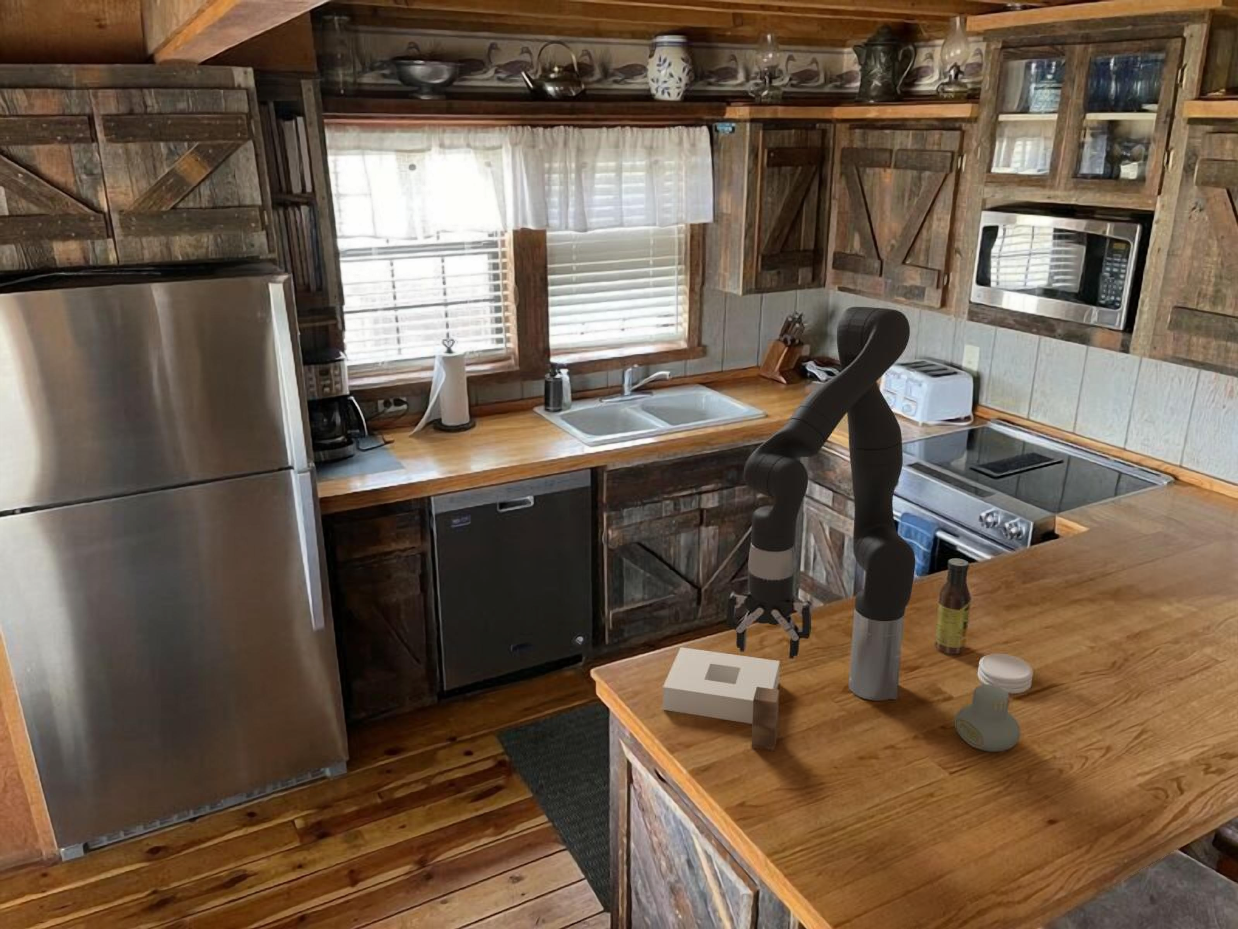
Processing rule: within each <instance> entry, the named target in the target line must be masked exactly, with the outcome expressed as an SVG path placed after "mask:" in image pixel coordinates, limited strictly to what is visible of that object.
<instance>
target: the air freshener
mask: <svg viewBox="0 0 1238 929" xmlns="http://www.w3.org/2000/svg"><path fill="white" fill-rule="evenodd" d="M1009 703H1010V695H1009V693H1007V692H1006V691H1005V690H1003V689H1002V688H1000V687H997V686H994V685H984V684H980V685H978V686H977V687H975V688H974V690H973V697H972V703H971V704H968V705H965V706H963V707H962V708H960V709H959V710H958V712H957V713H956V715H955V717H954V726H955V729H956V730H957V733H958V735H959V736H960V737H961V739H962V740H964V741H965V742H966V743H967V744H968V745H970V746H971V747H973V748H976V749H978V750H981V751H985V752H994V753H995V752H1002V751H1006V750H1010V749H1011V748H1012V747H1014V746H1015V745H1016V744H1018V741H1019V740H1020V737H1021V727H1020V724H1019V723H1018V721H1017V719H1016V718H1015V717H1014V716H1013V715H1012V714H1011V713H1010V711H1009V706H1010V705H1009Z"/></svg>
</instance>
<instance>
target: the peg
mask: <svg viewBox="0 0 1238 929" xmlns="http://www.w3.org/2000/svg"><path fill="white" fill-rule="evenodd" d="M779 702H780V689H777V690H776V689H769V688H762V687H757V688H756V692H755V695H754V699H753V721H752V725H751V726H752V728H751V745H750V746H751V748H753V749H761V750H765V751H766V750H767V751H772V752H775V747H776V745H777V739H778V727H779V726H778V724H779V722H778V721H779V720H778V719H779V707H780V706H779V704H780V703H779Z"/></svg>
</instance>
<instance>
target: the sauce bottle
mask: <svg viewBox="0 0 1238 929" xmlns="http://www.w3.org/2000/svg"><path fill="white" fill-rule="evenodd" d="M969 568H970V563H969V562H968V561H967V560H965V559H962V558H958V557H957V558H956V557H955V558H950V559H948V561H947V570H948V571H947V577H946V582H945V583H944V584H943V585H942V586H941V588H940V590H939V600H938V603H937V614H936V624H935V625H936V626H935V633H934V634H935V636H934V641H935V642H934V646H935V648H936V649H937V650H938V651H939V652H941V653H943V654H948V655H959V654H962V652H964V650H965V647H966V646H965V645H966V644H967V637H968V630H969V629H968V628H969V619H970V610H971V609H970V608H971V600H972V597H971V595H970V590H969V588H968V583H967V576H968V571H969Z"/></svg>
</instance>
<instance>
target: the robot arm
mask: <svg viewBox="0 0 1238 929" xmlns="http://www.w3.org/2000/svg"><path fill="white" fill-rule="evenodd" d="M836 327H837V328H836V346H837V354H838V361H839V366H840V370H841V371H840V372H839V373H838V374H836V375H834V376H833V377H832V378H829V380H827V381H825V382H824V383H822V384H821V385H820V386H817V388H815V389H814V390H812V391H810V393H809V394H807V396H806V397H805V398H804V399H803V400H802V401H801V402H800V403H799V405H798V406H797V407H796V409H794V410H795V411H794V412H793V413H792V415H791V416H790V418H789V419H788V420H787V421H786V423H785V424H784V425H783V427H782V428H780V429H779V430H777V431H776V432H775V433H774V434H773V435H771V436H770V437H769V438H768V439H767V440H765V441H764V442H762V444H760V445H759V446H758V447H757V448H756V449H755V450H754V451H753V452H752V453H751V454H750V456H749V457H748V459H747V460H746V462H745V464H744V467H743V468H744V469H743V473H742V474H743V476H742V477H743V481H744V484H745V486H746V487H747V488H748V489H749V490H751V491H753V492H756V493H757V494H760V495H764V496H766V497H769V498H772V499H773V501H774V502H773V503H774V504H773V505H765V506H761V507H759V508H756V509H755V510H754V512H753V515H752V519H751V534H750V536H751V537H750V538H751V539H750V548H749V553H748V562H747V567H748V571H747V576H748V577H747V592H746V595H742V594H741V595H740V594H738V592H737V591H731V593H730V595H729V598H728V599H727V600H728V601H727V609H726V610H727V611H726V620H725V627H726V628H727V629H733V630H734V631H735V632H736V648H739V652H745V649H746V646H747V628H748V627H750V626H751V625H752V624H754V622H755V621H756V622H758V624H763V625H764V624H769V625H772V626H777V625H780V626H781V628H782V629H783V630H784V631H785V632H786V633H787V634H788V635H789V637H790V640H789V654H788V655H789V656H788V659H793V660H794V658H795V657H797V656H798V655H799V651H800V650H799V649H800V640H801V639H805V640H807V639H809V638H810V636H811V631H812V602H811V601H810V600H805V601H804V602H795V601H794V598H793V594H794V593H793V591H794V589H793V588H794V574H795V573H794V571H795V551H794V550H795V548H794V547H795V546H794V544H795V532H796V531H795V527H796V526H795V524H796V522H797V518H798V515H799V512H800V509H801V506H802V503H803V501H804V497H805V496H806V492H807V489H808V484H809V474H808V471H807V468H806V466H805V465H804V463H803V462H801V460H798V459H796V458H811V457H814V456H816V455H817V454H818V453H819V452H820V451H821V449H822V448H823V447H824V445H825V443H826V442H827V441H828V439H829V438H830V437H831V435H832V433H834V431H835V429H836V427H838V425H839V423H841V421H842V420H843V418H844V417H845V416H846V415H847V425H848V426H847V429H848V451H849V462H850V469H851V470H850V471H851V482H852V484H851V485H852V494H853V502H854V505H853V506H854V514H853V515H854V519H853V520H854V521H853V534H852V535H853V536H852V537H853V538H852V539H853V540H852V542H853V543H852V544H853V545H852V548H853V554H854V557H855V560H856V562H857V563H858V564H859V566H860V567H861V568H862V570H863V571H864V572H865V573H866V574H865V582H864V584H865V585H864V588H863V589H860V590H859V591H858V592H857V593H856V595H855V599H854V600H855V601H854V602H855V603H854V612H853V613H854V614H853V626H852V636H851V637H852V639H851V649H850V662H849V672H848V688H849V690H850V691H851V692H852V693H853V694H854V695H856V696H857V697H859V698H862V699H865V700H869V701H878V702H879V701H887V700H897V698H898V690H899V680H900V678H899V677H900V670H901V669H900V668H901V662H902V661H901V659H902V645H903V644H902V642H903V635H904V634H903V632H904V625H905V624H904V622H905V613H906V607H907V606H908V605H909V602H910V600H911V596H912V592H913V584H914V583H913V582H914V577H915V572H916V571H915V570H916V556H915V551H914V549H913V548H912V546H911V545H910V543H909V542H907V541H906V540H905V539H904V538H903V537H902V535H901V536H900V534H899V533H898V532H897V529H896V525H895V518H894V517H895V516H894V507H893V505H894V503H893V499H894V494H895V490H896V487H897V485H898V483H899V480H900V477H901V474H902V470H903V462H904V461H903V459H904V455H903V437H902V435H903V434H902V429H901V427H900V424H899V422H898V421H899V420H898V419H897V417H896V415H895V414H894V412H893V410H892V408H891V406H890V405H889V403H888V401H887V400H886V398H885V397H884V395H883V393H882V391H881V389H880V387H879V385H878V383H877V381H879V379H880V378H882V376H883V375H884V374H885V373H887V372H888V370H889V369H890V368H891V367H893V366H894V364H895V363H896V362H897V361H898V359H900V357H901V356H902V355H903V354H904V352H905V350H906V348H907V347H908V344H909V340H910V335H911V330H910V329H911V328H910V323H909V320H908V318H907V316H906V315H905V314H904V313H903V312H902V311H899V310H897V309H893V308H886V307H883V308H882V307H871V306H870V307H869V306H852V307H848V308H847V309H845V310H844V311H843V313H842V314H841V316H840V318H839V320H838V323H837V326H836ZM742 604H743V605H744V606H745V607H746V608H747V612H746V614H745V615H743V617H741V619H740V620H739V619H738V618H736V617H737V609H739V608H740V607H741V605H742ZM794 610H795V611H796V612H797V615H798V616H799V617H801V619H802V621H801V622H802V623H801V624H802V626H801V627H799V626H798V625H797V624H796V622H795V619H794V617H793V616H792V615H791V614H792V613H793V612H794Z"/></svg>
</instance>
